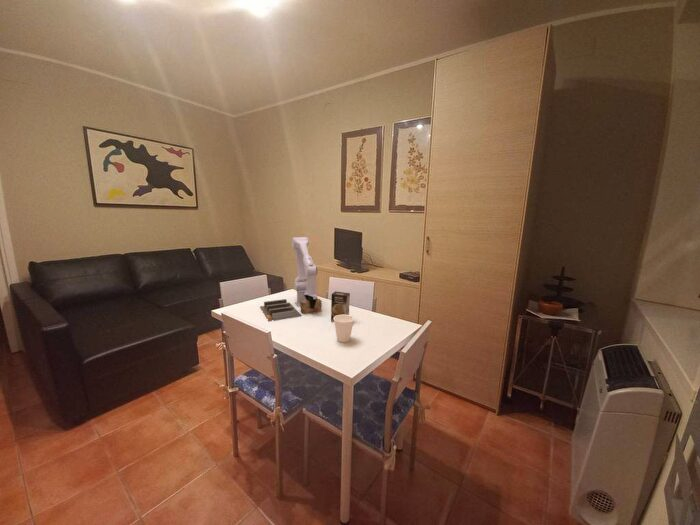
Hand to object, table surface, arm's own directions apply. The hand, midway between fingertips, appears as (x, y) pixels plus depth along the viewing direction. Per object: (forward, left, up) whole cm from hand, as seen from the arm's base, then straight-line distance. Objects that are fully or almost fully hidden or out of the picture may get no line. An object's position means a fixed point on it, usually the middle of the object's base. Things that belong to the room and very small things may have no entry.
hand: (311, 307), depth 169 cm
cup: (-1, +42, -3) cm, 42 cm away
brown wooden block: (0, 0, -3) cm, 3 cm away
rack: (+17, -8, -3) cm, 19 cm away
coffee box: (-10, +20, -3) cm, 23 cm away
